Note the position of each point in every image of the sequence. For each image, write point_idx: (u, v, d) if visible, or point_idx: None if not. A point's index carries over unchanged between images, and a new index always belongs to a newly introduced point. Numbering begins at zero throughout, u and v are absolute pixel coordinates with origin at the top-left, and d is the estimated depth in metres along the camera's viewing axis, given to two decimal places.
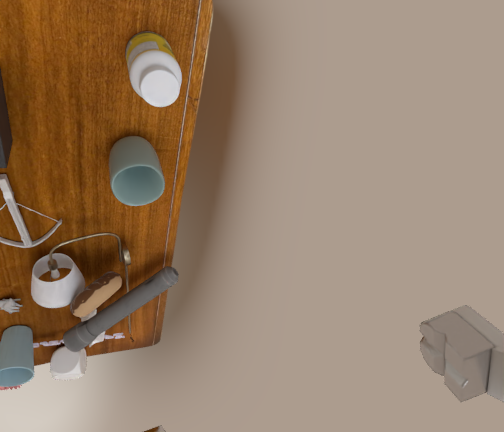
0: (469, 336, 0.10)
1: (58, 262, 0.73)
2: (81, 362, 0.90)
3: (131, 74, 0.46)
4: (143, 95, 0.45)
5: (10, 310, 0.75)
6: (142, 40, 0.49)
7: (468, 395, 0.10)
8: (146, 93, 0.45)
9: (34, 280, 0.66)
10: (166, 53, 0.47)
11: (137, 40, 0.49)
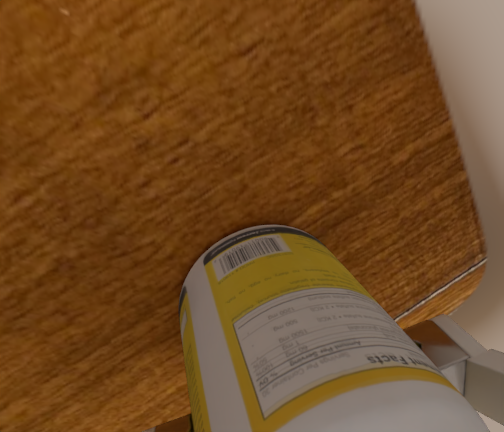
0: (445, 346, 0.10)
1: None
2: None
3: None
4: None
5: None
6: (346, 276, 0.11)
7: None
8: None
9: None
10: None
11: (322, 260, 0.12)
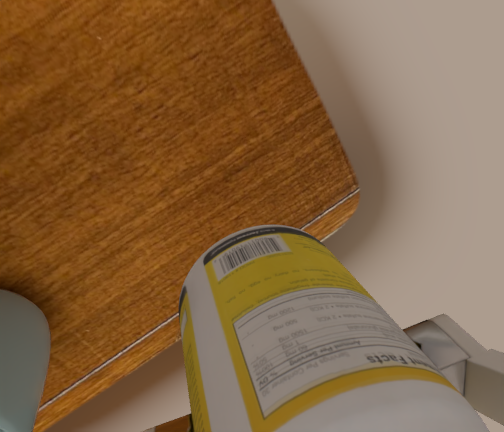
0: (445, 346, 0.10)
1: None
2: None
3: None
4: None
5: None
6: (346, 276, 0.11)
7: None
8: None
9: None
10: None
11: (321, 259, 0.12)
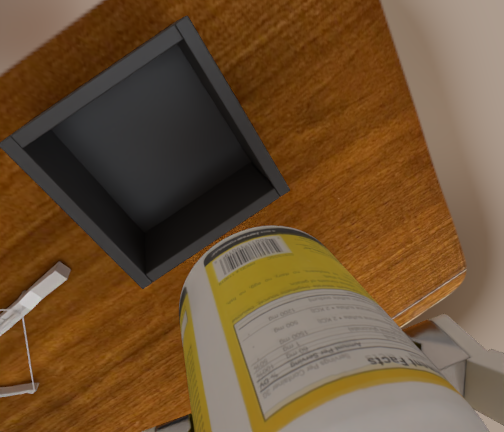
0: (445, 346, 0.10)
1: None
2: None
3: None
4: None
5: None
6: (347, 277, 0.11)
7: None
8: None
9: None
10: None
11: (322, 261, 0.12)
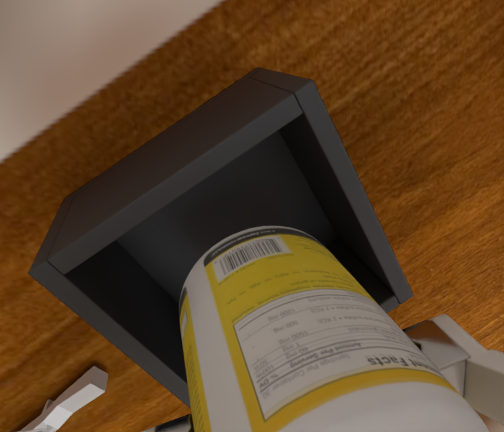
0: (445, 346, 0.10)
1: None
2: None
3: None
4: None
5: None
6: (346, 277, 0.11)
7: None
8: None
9: None
10: None
11: (322, 261, 0.12)
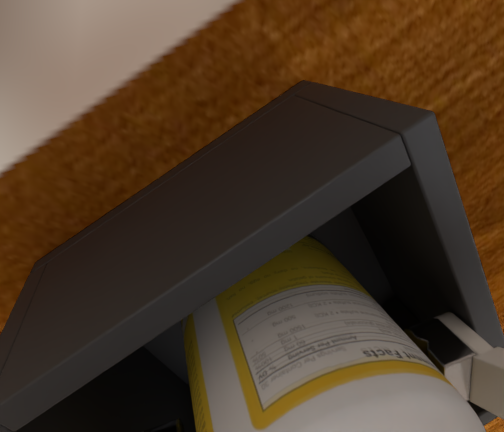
0: (451, 343, 0.10)
1: None
2: None
3: None
4: None
5: None
6: (344, 274, 0.12)
7: None
8: None
9: None
10: None
11: (319, 258, 0.12)
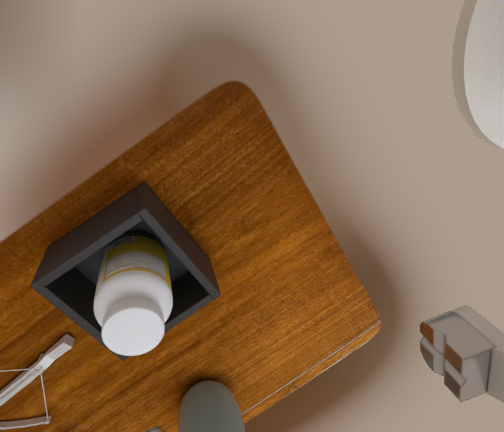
0: (469, 336, 0.10)
1: None
2: None
3: (111, 283, 0.30)
4: (106, 325, 0.28)
5: None
6: (150, 249, 0.35)
7: (468, 395, 0.10)
8: (112, 325, 0.28)
9: None
10: (170, 290, 0.33)
11: (144, 244, 0.36)
